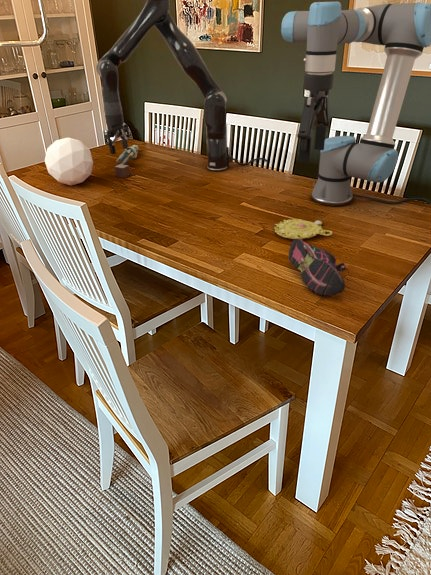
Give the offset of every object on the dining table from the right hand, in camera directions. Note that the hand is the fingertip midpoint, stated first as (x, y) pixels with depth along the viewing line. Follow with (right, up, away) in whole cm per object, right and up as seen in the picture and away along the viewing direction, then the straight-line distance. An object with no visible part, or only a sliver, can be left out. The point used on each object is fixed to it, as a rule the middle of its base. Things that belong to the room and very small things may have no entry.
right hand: (311, 155), depth 125 cm
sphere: (-90, +8, +69) cm, 113 cm away
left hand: (-70, +23, +70) cm, 101 cm away
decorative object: (+1, -19, +21) cm, 29 cm away
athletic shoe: (+2, -35, -4) cm, 35 cm away
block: (-69, +13, +76) cm, 104 cm away
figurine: (-71, +27, +97) cm, 123 cm away
